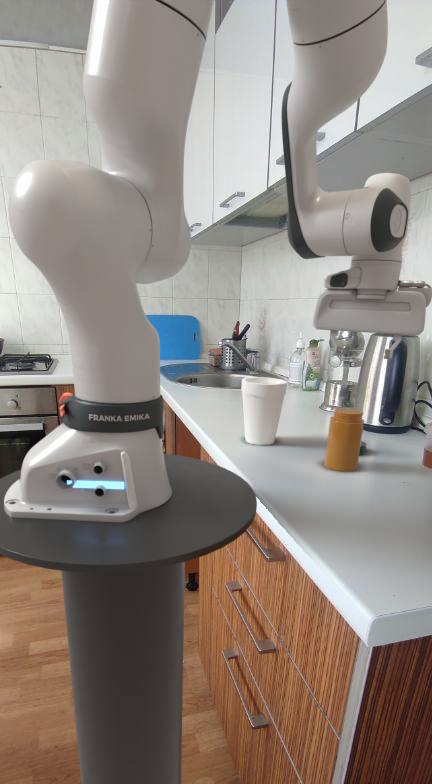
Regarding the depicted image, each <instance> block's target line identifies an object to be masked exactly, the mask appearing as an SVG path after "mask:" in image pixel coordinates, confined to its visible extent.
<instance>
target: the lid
mask: <svg viewBox="0 0 432 784" xmlns="http://www.w3.org/2000/svg"><path fill="white" fill-rule="evenodd" d="M366 450H367V442H365V441H363V440H361V446H360V452H359V456H363V455H364V454H365V453H366Z"/></svg>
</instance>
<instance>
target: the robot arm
mask: <svg viewBox="0 0 432 784" xmlns="http://www.w3.org/2000/svg"><path fill="white" fill-rule="evenodd" d="M285 2H286V8H287V16H288V23H289V29H290V35H291V41H292V46H293V53H294V56H293V57H294V62H293V63H294V65H293V66H294V67H293V76H292V81H290V82H289V83H288V85H287V86H286V87H285V90H284V92H283V96H282V103H281V115H280V116H281V136H282V137H281V139H282V151H283V161H284V162H283V163H284V164H283V165H284V171H285V172H284V175H285V184H286V196H287V224H286V225H287V229H286V231H287V238H288V242H289V244H290V246H291V248H292V249H293V250H294V252H295V253H296V254H297V255H298V256H299V257H300V258H302V259H303V260H311V259H321V258H325V257H351V261H350V268H348V269H345V270H341V271H338V272H335V273H332V274H329V275H327V276H325V277H324V279H323V287H324V288H325V289H324V290H322V291H321V292H320V293H319V295H318V297H317V300H316V303H315V306H314V311H313V316H312V317H313V318H312V326H313V327H314V329H315V330H316V331H317V330H320V331H330V332H329V339H330V340H331V343H332V345H333V346H334V347H333V355H332V356H339V357H340V356H342V355H343V348H344V346H343V345H340V344H339V342H338V339H337V337H338V336H339V334H340V332H351V333H352V332H354V333H368V334H369V333H370V334H385V335H386V334H388V335H393V341H395V342H394V343H393V344H392V345H391V346H390V348H385V349H384V355H383V359H384V360H392V359H393V354H394V351H395V350H396V348H397V347H398V345H399V344H400V343H401V342H402V338H403V336H404V335H405V336H419V335H421V334H422V333H423V332H424V331H425V326H426V317H427V316H426V315H427V307H429V306H430V304H431V303H432V286H431V285H430V284H428V283H426V281H424V280H417V281H414V280H404V279H403V280H402V279H401V280H400V277H401V270H402V265H403V254H402V253H403V251H402V250H403V246H404V243H405V241H406V237H407V234H408V229H409V222H410V211H411V199H412V198H411V197H412V195H411V194H412V193H411V191H412V189H411V188H412V187H411V181H410V180H409V178H408V177H407V176H405V175H403V174H401V173H398V172H392V171H384V172H383V171H382V172H379V173H375V174H373V175H371V176H369V177H367V179H366V181H365V184H364V186H363V188H355V189H349V190H340V191H339V190H337V191H325V190H323V189H322V188H321V187H320V186H319V184H318V183H319V182H318V180H319V179H318V156H317V155H318V154H317V153H318V152H317V136H318V132H319V130H320V129H322V127H324V126H325V125H327V124H328V123H329V122H331V121H332V120H334V119H336V117H338V116H339V115H341V114H343V113H344V112H346V111H347V110H348V109H349V108H351V107H352V106H353V105H354V104H355V103H356V102H358V100H360V99H361V97H363V95H364V94H365V93H366V92H367V91H368V90H369V89H370V87H371V86H372V84H373V83H374V82H375V80H376V79H377V76H378V75H379V73H380V71H381V70H382V66H383V64H384V61H385V58H386V55H387V48H388V37H389V35H388V34H389V21H388V20H389V17H388V2H387V0H286V1H285ZM214 3H215V0H93V3H92V9H91V10H92V11H91V18H90V25H89V31H88V37H87V45H86V53H85V60H84V68H83V75H82V91H83V92H82V93H83V97H84V101H85V102H86V106H87V108H88V110H89V112H90V114H91V116H92V118H93V120H94V123H95V127H96V130H97V133H98V138H99V144H100V155H101V169H99V168H97V167H95V166H93V165H90V164H87V163H84V162H82V161H78V160H66V159H36V160H33V161H31V162H29V163H27V164H26V165H25V166H23V168H22V169H21V170H20V171H19V172H18V173H17V175H16V177H15V179H14V181H13V182H12V185H11V188H10V192H9V195H8V204H7V205H8V207H7V208H8V209H7V213H8V221H9V225H10V226H9V227H10V229H11V232H12V235H13V238H14V240H15V242H16V244H17V246H18V249H19V250H20V251H21V252H22V254H23V255H24V256H25V257H26V258H27V259H28V260H29V261H30V262H31V264H33V265H34V266H35V267H36V268H37V269H38V271H39V272H40V273H41V274H42V276H43V277H44V279H45V280H46V281H47V283H48V285H49V287H50V289H51V290H52V292H53V294H54V297H55V299H56V301H57V304H58V306H59V308H60V311H61V314H62V316H63V319H64V323H65V325H66V329H67V333H68V338H69V345H70V355H71V364H72V374H73V375H72V376H73V387H74V393H72V392H68V391H67V392H63V394H62V395H61V396H60V398H59V407H58V408H59V409H58V410H59V418H60V422H61V424H59V425H58V426H57V427H55V428H54V429H53V430H52V431H51V432H49V433H48V434H46V436H45V437H43V438H42V439H40V440H39V441H38V442H37V443H36V444H34V445H33V446H32V447H31V448H30V449H29V450H28V451H27V453H26V455H25V456H24V458H23V461H22V464H21V469H20V470H21V478H20V479H19V480H17V481H16V482H15V483H14V484H13V485H12V486H11V487H10V488H9V489H8V491H7V493H6V495H5V498H4V510H5V512H6V513H7V515H9V516H10V517H14V518H32V519H54V520H76V521H98V522H126V521H129V520H131V519H132V518H134V517H135V516H137V515H138V514H140V513H142V512H144V511H147V510H150V509H153V508H156V507H158V506H160V505H162V504H164V503H165V502H167V501H168V500H169V499H170V497H171V495H172V489H171V486H170V483H169V479H168V475H167V471H166V466H165V460H164V454H165V453H164V447H163V437H164V432H165V422H166V421H165V419H166V418H165V416H166V415H165V414H166V413H165V403H164V402H165V401H164V397H163V395H162V394H161V339H160V335H159V332H158V331H157V328H156V327H155V326H154V325H153V324H152V323H151V322H150V320H149V319H148V317H147V315H146V313H145V310H144V307H143V304H142V301H141V297H140V293H139V289H138V284H139V285H140V284H141V285H148V284H153V283H158V282H160V281H164V280H166V279H169V278H172V277H174V276H175V275H176V274H178V273H180V272H181V270H182V269H183V268H184V267H185V265H186V263H187V261H188V259H189V256H190V253H191V248H192V234H191V229H190V224H189V222H188V220H187V219H188V218H187V216H186V212H185V204H184V203H185V201H184V200H185V199H184V178H185V177H184V174H185V173H184V170H185V150H186V139H187V131H188V125H189V120H190V115H191V111H192V105H193V101H194V96H195V92H196V87H197V83H198V78H199V74H200V71H201V66H202V65H201V64H202V61H203V56H204V52H205V47H206V42H207V38H208V33H209V29H210V24H211V21H212V20H211V19H212V13H213V9H214Z"/></svg>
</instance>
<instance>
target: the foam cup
mask: <svg viewBox="0 0 432 784" xmlns="http://www.w3.org/2000/svg"><path fill="white" fill-rule="evenodd" d="M287 385H288V381H286V380H284V379H280V378H277V377H265V376H250V377H244V378H242V379H241V388H240V392H241V394H242V409H243V412H242V413H243V423H244V424H243V425H244V426H243V427H244V437H245V442H247V443H248V444H252V445H256V446H268V445H272V444H274V443H275V440H276V435H277V432H278V427H279V423H280V417H281V415H282V414H281V413H282V409H283V405H284V400H285V396H286V394H287Z"/></svg>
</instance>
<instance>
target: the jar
mask: <svg viewBox="0 0 432 784" xmlns="http://www.w3.org/2000/svg"><path fill="white" fill-rule="evenodd" d="M363 415H364V411H362V410H361V409H357V408H350V407H337V408H336V407H335V409H333V415H332V416H331V417H330V418H329V425H328V433H327V442H326V450H325V456H324V466H325V468H327V469H329V470H330V469H331V470H333V471H337V472H354V471H356V470H357V469H358V465H359V458H360V455H359V452H360V446H361V441H362V439H363V433H364V426H365V420H364V419H363Z"/></svg>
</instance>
